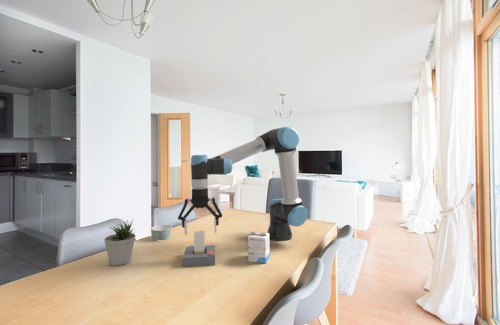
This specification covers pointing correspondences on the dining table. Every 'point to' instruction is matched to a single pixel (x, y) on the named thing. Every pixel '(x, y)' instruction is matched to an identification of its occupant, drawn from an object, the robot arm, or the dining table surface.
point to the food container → (161, 232)
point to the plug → (199, 242)
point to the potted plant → (120, 245)
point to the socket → (199, 257)
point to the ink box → (258, 247)
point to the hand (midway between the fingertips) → (200, 233)
